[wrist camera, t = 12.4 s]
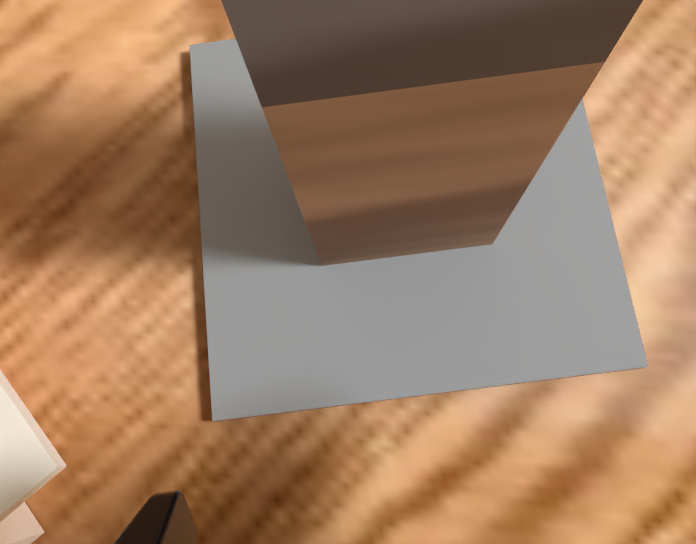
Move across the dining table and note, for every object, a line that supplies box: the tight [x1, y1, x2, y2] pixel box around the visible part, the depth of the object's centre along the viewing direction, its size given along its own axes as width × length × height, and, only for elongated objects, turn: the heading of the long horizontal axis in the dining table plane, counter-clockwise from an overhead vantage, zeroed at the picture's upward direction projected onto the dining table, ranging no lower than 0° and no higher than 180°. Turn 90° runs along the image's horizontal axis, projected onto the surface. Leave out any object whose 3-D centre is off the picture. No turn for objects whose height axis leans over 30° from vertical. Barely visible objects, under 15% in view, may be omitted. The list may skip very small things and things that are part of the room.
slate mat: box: [190, 39, 648, 421], centre depth 18 cm, size 12×12×1 cm
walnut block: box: [221, 0, 643, 266], centre depth 12 cm, size 4×5×12 cm
